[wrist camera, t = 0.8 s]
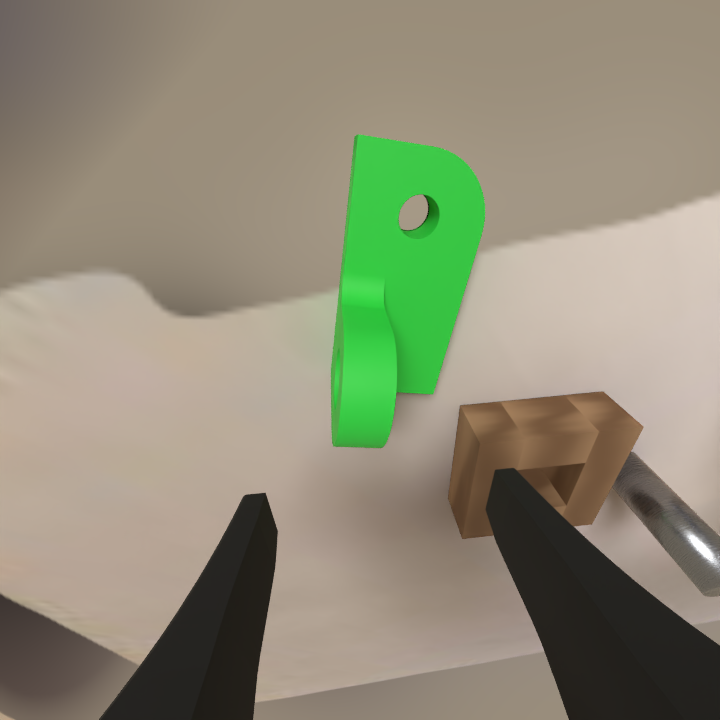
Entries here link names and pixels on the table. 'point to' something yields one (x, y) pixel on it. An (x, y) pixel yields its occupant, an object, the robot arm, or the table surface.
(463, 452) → the square wooden ring
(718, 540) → the metal peg
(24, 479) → the table surface
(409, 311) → the mechanical part
